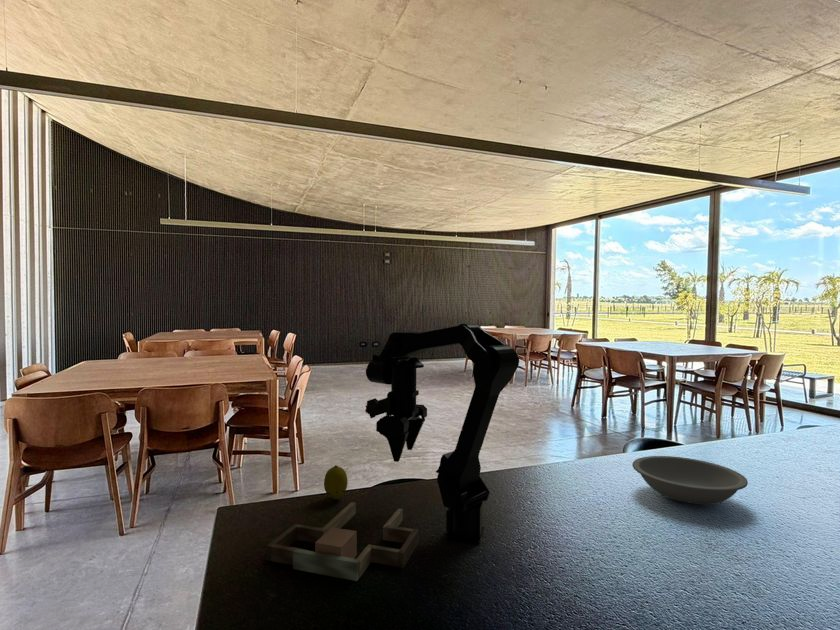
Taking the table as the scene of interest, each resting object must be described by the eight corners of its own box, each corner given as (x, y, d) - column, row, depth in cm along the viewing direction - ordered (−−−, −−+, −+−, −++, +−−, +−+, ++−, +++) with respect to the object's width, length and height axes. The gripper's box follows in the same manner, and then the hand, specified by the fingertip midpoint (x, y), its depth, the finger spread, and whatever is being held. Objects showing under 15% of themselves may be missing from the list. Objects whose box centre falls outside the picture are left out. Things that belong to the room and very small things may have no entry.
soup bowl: (636, 508, 102) (636, 480, 102) (629, 475, 124) (629, 451, 124) (763, 527, 93) (763, 496, 93) (731, 487, 115) (731, 462, 115)
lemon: (342, 504, 103) (342, 470, 103) (320, 502, 104) (320, 468, 104) (350, 495, 108) (351, 462, 108) (329, 493, 109) (329, 461, 109)
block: (356, 556, 81) (356, 531, 81) (341, 574, 75) (341, 547, 75) (331, 551, 82) (332, 527, 82) (314, 568, 76) (315, 542, 76)
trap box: (429, 524, 93) (429, 510, 93) (391, 587, 71) (391, 568, 71) (327, 509, 100) (327, 496, 100) (262, 563, 78) (263, 545, 78)
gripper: (385, 380, 112) (385, 441, 112) (353, 391, 95) (353, 464, 94) (427, 382, 109) (427, 445, 109) (403, 393, 91) (402, 469, 91)
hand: (403, 455), depth 101 cm, fingers open, 9 cm apart
